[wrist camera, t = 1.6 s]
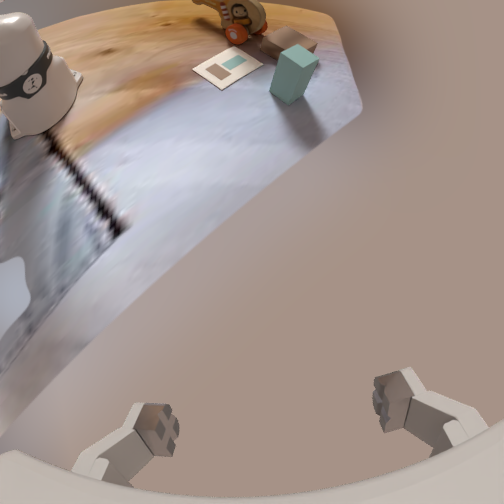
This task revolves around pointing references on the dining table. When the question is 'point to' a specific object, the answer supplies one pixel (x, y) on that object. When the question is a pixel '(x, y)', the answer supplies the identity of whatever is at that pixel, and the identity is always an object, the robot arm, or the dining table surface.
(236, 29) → the toy helicopter
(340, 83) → the dining table surface
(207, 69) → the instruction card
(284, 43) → the walnut base block
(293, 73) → the teal tall block
